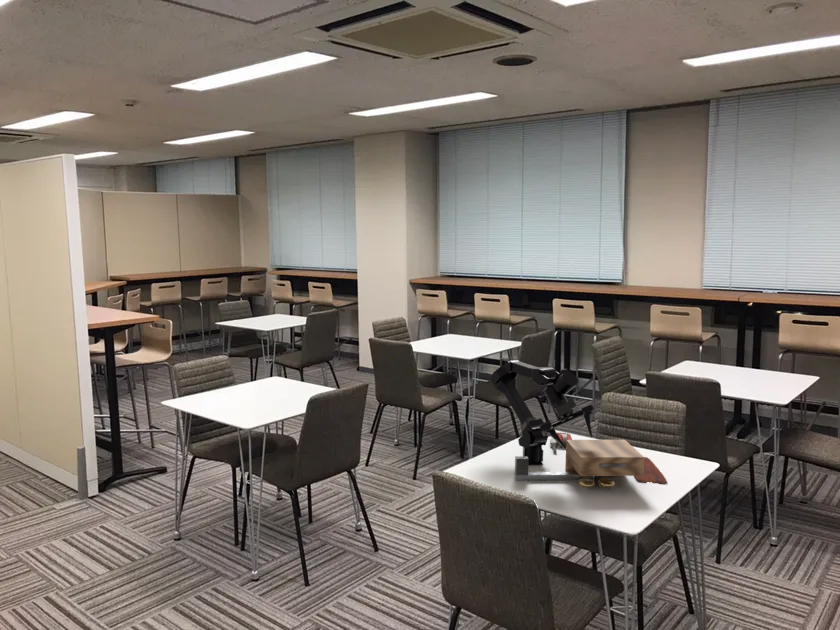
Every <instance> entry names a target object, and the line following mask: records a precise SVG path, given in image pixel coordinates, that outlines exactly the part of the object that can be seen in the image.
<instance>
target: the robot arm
mask: <svg viewBox="0 0 840 630" xmlns="http://www.w3.org/2000/svg"><path fill="white" fill-rule="evenodd" d="M519 375H520V376H522V377H526V378H530V379H531V381H532V383H534V384H536V385H537V386H546V387H542V389H541V392H540V396H541V397H544V396H545V397H546V399H547V401H548V403H549V405H550V407H551V409H552V412H553V413H554V417H555V418H556V420H555V421H553V422H551V420H547V421H544V420H543V419H542V418H535V416H534V415H533V414H532V412H531V410H530V409H529V407H528V405H527V404H526V402H525V401H524V399H523V396H521V394H520V392H519V390H518V388H517V379H516V378H517V377H518V376H519ZM490 381H491V384H492V385H493V386H494V387H495V389H496V390H497V391H499V392H500V393H502V394H503V395H504V396H505V398H506V399H507V401H508V403H509V405H510V407H511V408H512V410H513V411H514V413H515V415H516V417H517V418H518V420H519V422H520V423H521V434H522V435H521V436H520V437H519V438H518V439H517V440H518V446H520V447H522V456H527V457H528V459H529V462H528V466H532V465H534V466H535V465H538V466H540V465H544V464H543V461H544V450H543V446H546V445H547V442H548V440H549V439H548V438H549V437H551V439H553V438H554V439H555V440H556V441H557V442H558V443H559V444H560V445H561V446H562V447H563V448H562V449H564V450H566V448H565V446H564V444H563V442H562V441H561V439H560V438H559V436H558V434H557V433H558V432H557V431H556V429H555V428H558V427H560V426H563V425H565V424H567V423H569V422H571V421H574V420H576V419H578V418H581V417H583V420H584V424H585V426H586V428H587V431H588V434H589V436H590V439H593V432H592V427H591V419H593V418H594V415H595V414H596V412H595V411H596V410H595V407H594V406H593V404H592V403H590V402H589V403H585V404H584V405H581V406H580V407H579V410H578V411H576V412H574V410H573V408H575V407H577V404H576V401H575V400H574V398H573V396H571V397H569V398H567V397H566V394H569V392H570V391H571V390H573V389H574V388H575V387H576V386H577V385H578V384H579V383H578V382H579V380H578V378H577V376H576V375H575V374H574V373H573V372H571V371H569V369H568V368H562V369H561V370H560V371H559V372H558V371H557V369H556V368H554V367H547V366H544V367H542V366H541V367H539V366H536V365H535V366H534V365H532V364H529V363H525V362H523V361H520V360H518V359H513V360H512V359H511V360H507V361H506V362H505V363H504V364H503V365H502V366H500V367H498V368H496V370H495V371H493V372H492V374H491V376H490Z"/></svg>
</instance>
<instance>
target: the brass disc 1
mask: <svg viewBox="0 0 840 630" xmlns="http://www.w3.org/2000/svg"><path fill="white" fill-rule="evenodd" d="M578 486H579V487H582V488H586V489H591V488H594V487H595V480H594V481H593V480H591V479H586V478H584V479H580V480H579V481H578Z"/></svg>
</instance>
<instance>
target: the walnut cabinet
mask: <svg viewBox="0 0 840 630" xmlns="http://www.w3.org/2000/svg"><path fill="white" fill-rule="evenodd" d="M644 457H645V456H644V455H642V454H641V452H639V450H636V448H635V447H634V446H633V445H631V443H630V442H629V441H627V440H626V439H572V440H566V449H565V469H564V470H565V471H564V472H578V474H579V475H580V476H594V477H606V476H607V477H623V476H624V477H628V476H629V477H632V476H633V477H635V476H643V475H644Z"/></svg>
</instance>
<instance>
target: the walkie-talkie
mask: <svg viewBox="0 0 840 630" xmlns="http://www.w3.org/2000/svg"><path fill="white" fill-rule="evenodd" d="M556 433H557V434H558V436H559V438H560V439H561V441H562V442H563V444H564V446H565V448H566V440H573V437H572V436H571V434H570V433H568V432H556ZM566 433H567V434H566ZM549 445H550V446H549V447H550V448H552V449H553V452H554V453H557V449H564V448H563V447H562V446H561V445H560V444H559V443H558V442H557V441H556V440H555V439H554V438H551V439H549ZM556 447H557V448H556Z"/></svg>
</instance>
